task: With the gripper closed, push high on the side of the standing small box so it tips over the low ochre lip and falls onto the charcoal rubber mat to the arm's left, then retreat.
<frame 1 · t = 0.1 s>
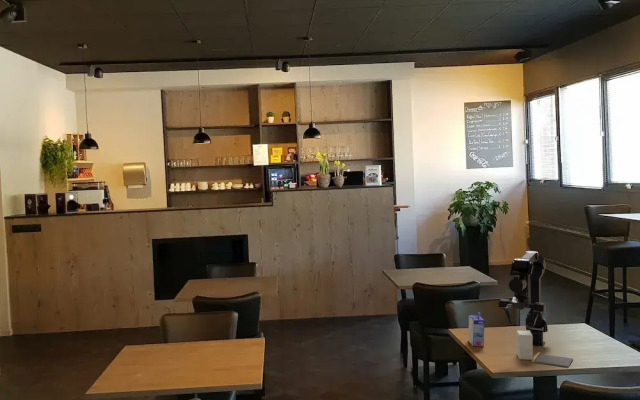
hand: (521, 325, 251), 15 cm above the table, fingers open, 9 cm apart
ink cartridge box: (476, 344, 276), on the table
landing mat: (552, 361, 249), on the table
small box: (524, 357, 255), on the table
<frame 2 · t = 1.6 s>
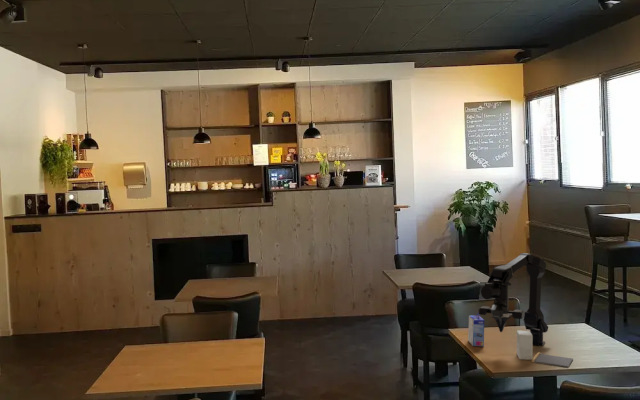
hand: (501, 331, 260), 10 cm above the table, fingers closed
nothing on the table moved.
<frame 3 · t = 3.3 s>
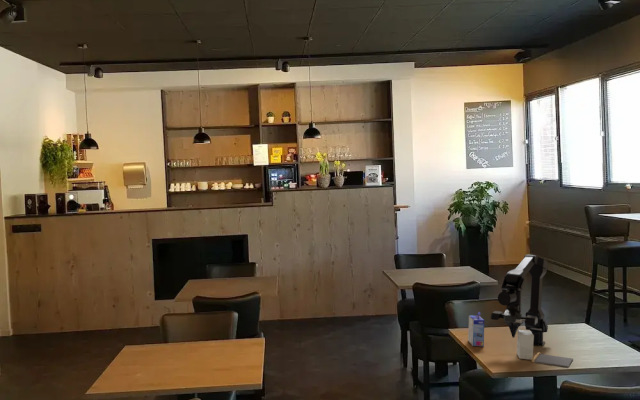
hand: (513, 337, 257), 8 cm above the table, fingers closed
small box: (524, 357, 255), on the table, touching gripper
everything else where it was.
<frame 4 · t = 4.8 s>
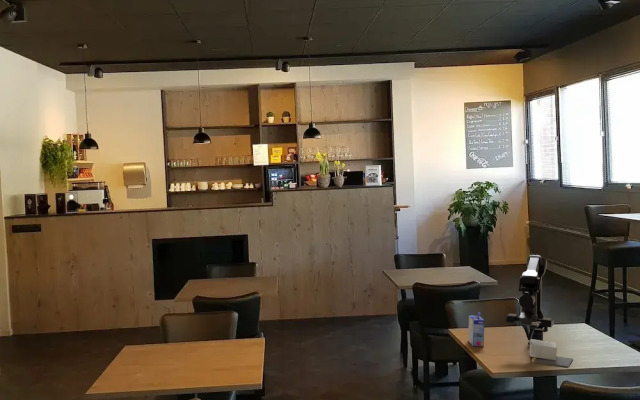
hand: (529, 340, 254), 8 cm above the table, fingers closed
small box: (529, 347, 255), point 4 cm above the table, touching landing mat
everything else where it was.
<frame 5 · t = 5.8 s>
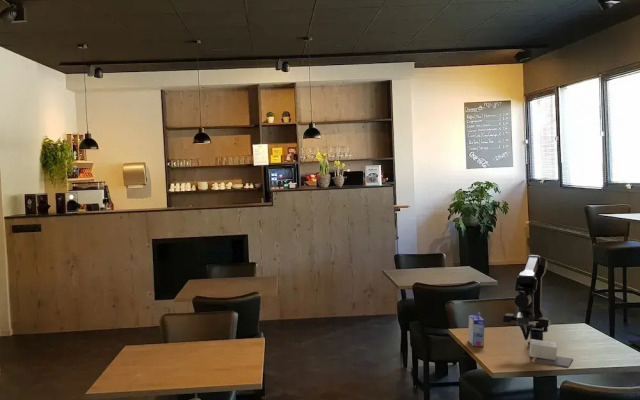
hand: (526, 339, 255), 7 cm above the table, fingers closed
nothing on the table moved.
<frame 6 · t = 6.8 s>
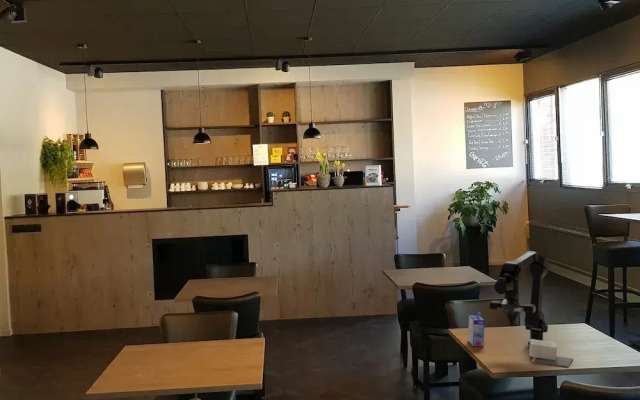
hand: (512, 326, 259), 12 cm above the table, fingers closed
nothing on the table moved.
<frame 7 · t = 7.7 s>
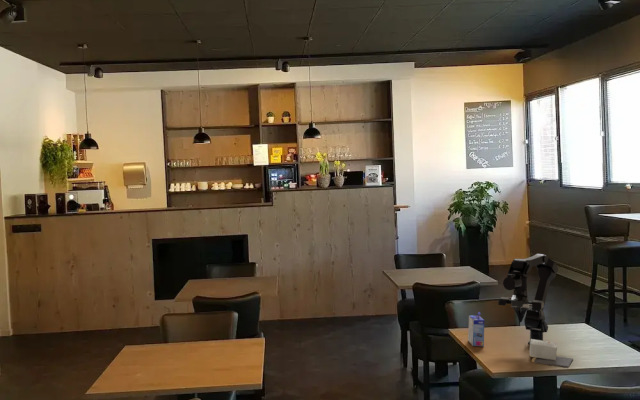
hand: (520, 322, 265), 13 cm above the table, fingers closed
nothing on the table moved.
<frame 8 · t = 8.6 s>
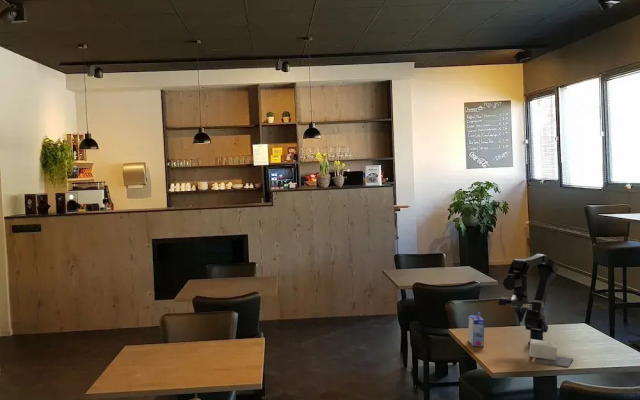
hand: (520, 322, 265), 13 cm above the table, fingers closed
nothing on the table moved.
at the end: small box tilted 95°; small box inside the target area (10.6 cm from its centre), point 4.3 cm above the table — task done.
